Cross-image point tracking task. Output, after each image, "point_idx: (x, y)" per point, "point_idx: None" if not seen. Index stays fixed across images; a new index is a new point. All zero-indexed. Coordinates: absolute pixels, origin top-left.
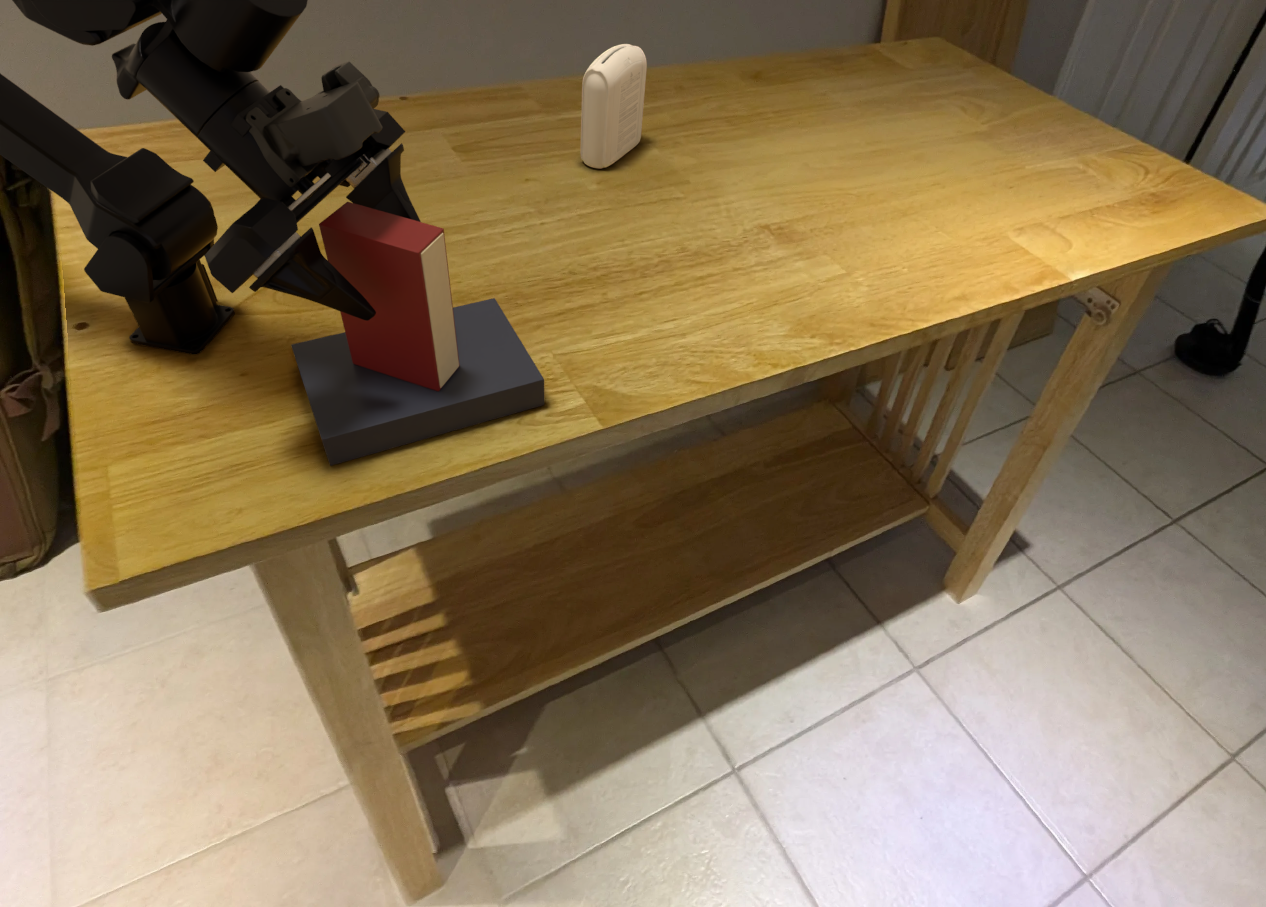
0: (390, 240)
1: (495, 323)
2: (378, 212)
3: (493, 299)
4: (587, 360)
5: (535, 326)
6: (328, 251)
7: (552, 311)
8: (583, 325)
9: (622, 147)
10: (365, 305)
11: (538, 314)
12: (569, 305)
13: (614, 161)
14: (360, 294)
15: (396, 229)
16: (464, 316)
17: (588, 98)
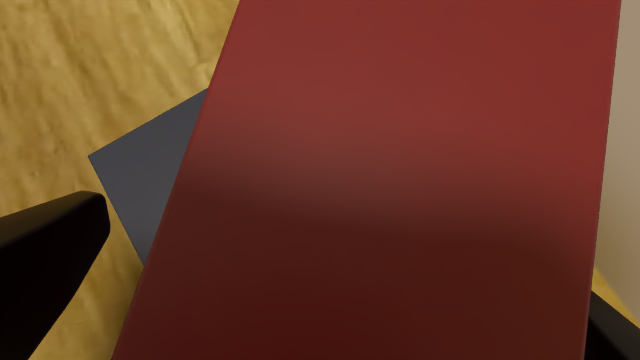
0: (555, 129)
1: (175, 135)
2: None
3: (93, 157)
4: (208, 10)
5: (123, 105)
6: None
7: (77, 84)
8: (114, 28)
9: None
10: (603, 303)
11: (87, 106)
12: (57, 59)
13: None
14: (609, 331)
15: (384, 134)
16: (158, 202)
17: None
